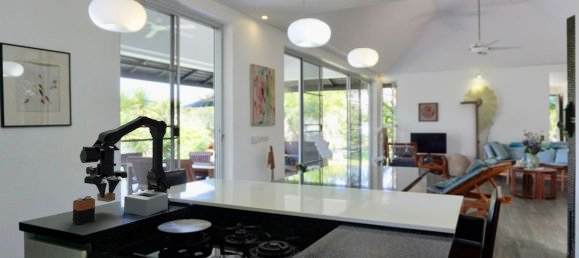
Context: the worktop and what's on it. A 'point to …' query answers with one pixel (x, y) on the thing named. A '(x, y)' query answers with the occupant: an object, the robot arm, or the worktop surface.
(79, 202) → the battery
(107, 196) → the tan wooden block
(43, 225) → the worktop surface
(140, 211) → the coin box
